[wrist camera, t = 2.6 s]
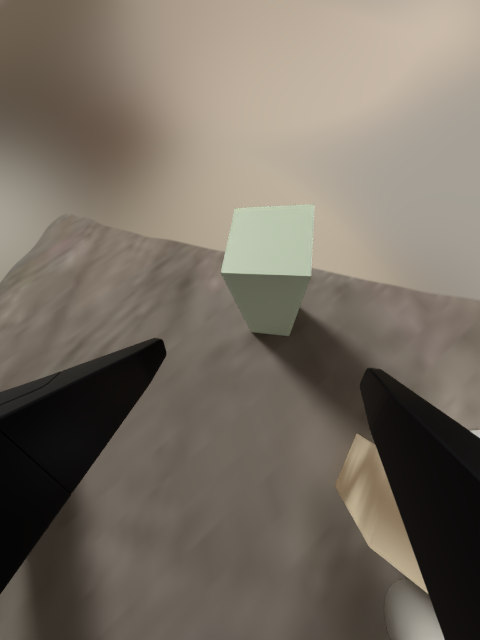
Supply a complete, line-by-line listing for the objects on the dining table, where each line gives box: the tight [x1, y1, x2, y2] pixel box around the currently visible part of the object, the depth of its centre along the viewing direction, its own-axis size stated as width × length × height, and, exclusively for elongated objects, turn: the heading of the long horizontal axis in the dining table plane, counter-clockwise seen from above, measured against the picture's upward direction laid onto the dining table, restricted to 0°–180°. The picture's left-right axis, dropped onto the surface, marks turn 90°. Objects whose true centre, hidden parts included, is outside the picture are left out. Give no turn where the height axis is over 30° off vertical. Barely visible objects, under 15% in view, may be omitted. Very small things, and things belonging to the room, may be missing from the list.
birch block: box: [335, 434, 428, 593], centre depth 12 cm, size 5×5×6 cm
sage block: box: [221, 204, 314, 336], centre depth 16 cm, size 5×5×13 cm
